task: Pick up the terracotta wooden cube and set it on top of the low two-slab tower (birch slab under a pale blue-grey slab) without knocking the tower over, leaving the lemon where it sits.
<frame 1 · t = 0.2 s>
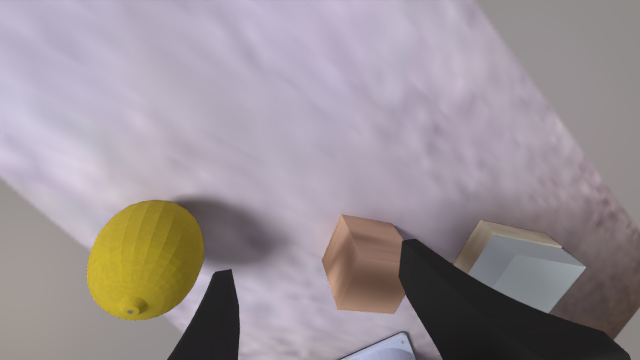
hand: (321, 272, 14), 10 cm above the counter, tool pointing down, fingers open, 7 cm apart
tower base: (486, 257, 31), on the counter, touching tower top
block: (356, 241, 26), on the counter
tower top: (503, 277, 29), point 2 cm above the counter, touching tower base
lemon: (165, 213, 22), on the counter
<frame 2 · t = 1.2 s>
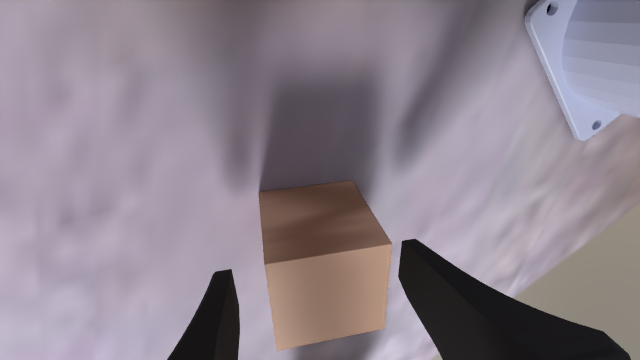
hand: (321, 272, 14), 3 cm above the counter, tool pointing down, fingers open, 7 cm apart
block: (308, 224, 17), on the counter
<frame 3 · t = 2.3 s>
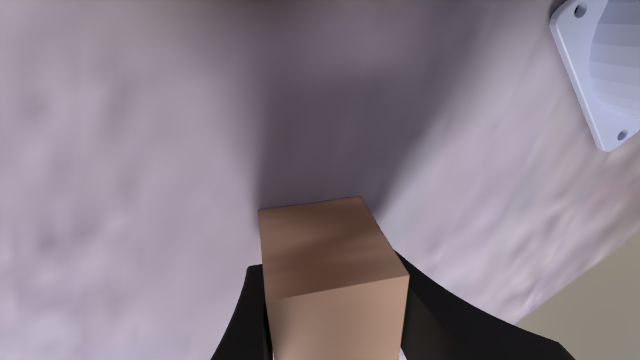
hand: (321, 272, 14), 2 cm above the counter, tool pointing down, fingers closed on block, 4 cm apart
block: (312, 244, 15), on the counter, touching gripper
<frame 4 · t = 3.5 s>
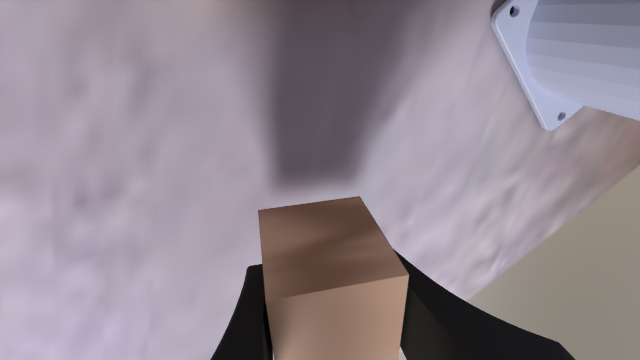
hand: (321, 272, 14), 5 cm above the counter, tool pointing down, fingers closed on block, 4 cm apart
block: (312, 243, 15), point 3 cm above the counter, touching gripper
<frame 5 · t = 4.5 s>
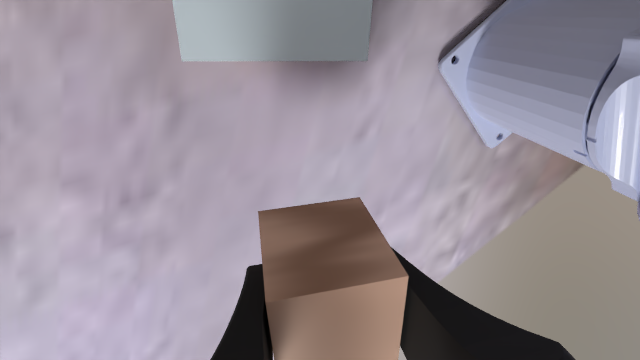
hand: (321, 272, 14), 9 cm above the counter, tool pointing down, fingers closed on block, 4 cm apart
block: (312, 244, 15), point 7 cm above the counter, touching gripper
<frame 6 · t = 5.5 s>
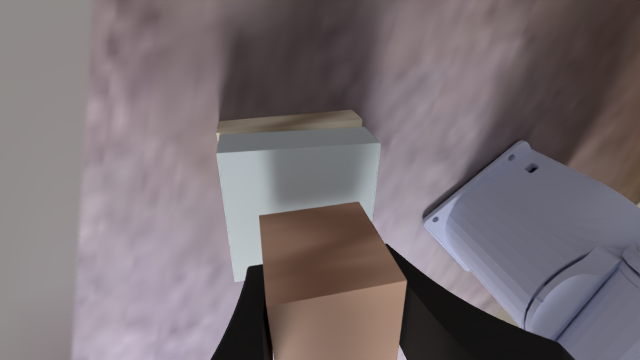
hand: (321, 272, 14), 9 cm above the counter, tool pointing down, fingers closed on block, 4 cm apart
tower base: (291, 171, 22), on the counter, touching tower top
block: (312, 248, 16), point 7 cm above the counter, touching gripper
tower top: (296, 193, 20), point 2 cm above the counter, touching tower base
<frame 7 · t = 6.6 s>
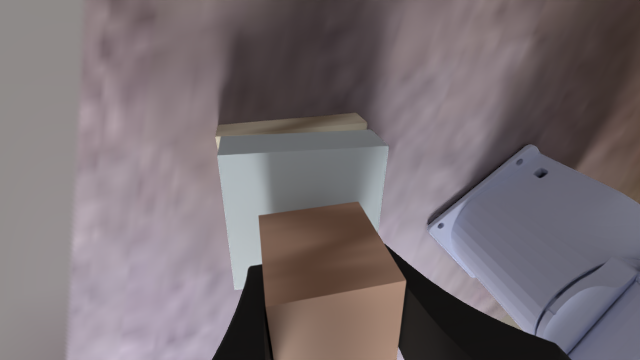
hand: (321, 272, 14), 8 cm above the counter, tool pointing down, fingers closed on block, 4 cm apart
tower base: (292, 176, 21), on the counter, touching tower top
block: (311, 248, 16), point 6 cm above the counter, touching gripper
tower top: (299, 198, 19), point 2 cm above the counter, touching tower base
when the fingers open (8 cm above the counter, at t = 6.8 s): block drops 2 cm, resting on tower top.
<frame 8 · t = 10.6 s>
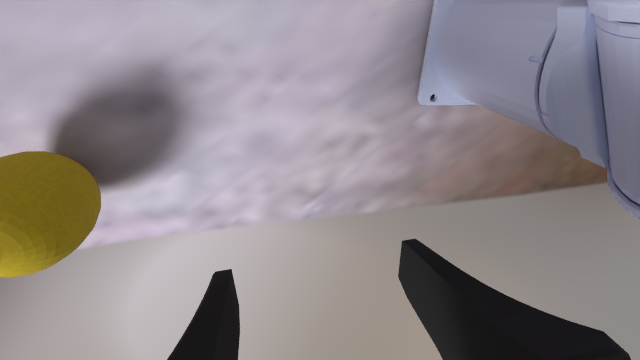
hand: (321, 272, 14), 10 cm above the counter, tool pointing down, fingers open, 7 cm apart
lemon: (70, 172, 20), on the counter
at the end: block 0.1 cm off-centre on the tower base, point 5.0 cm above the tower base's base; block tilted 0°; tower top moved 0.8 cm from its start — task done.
